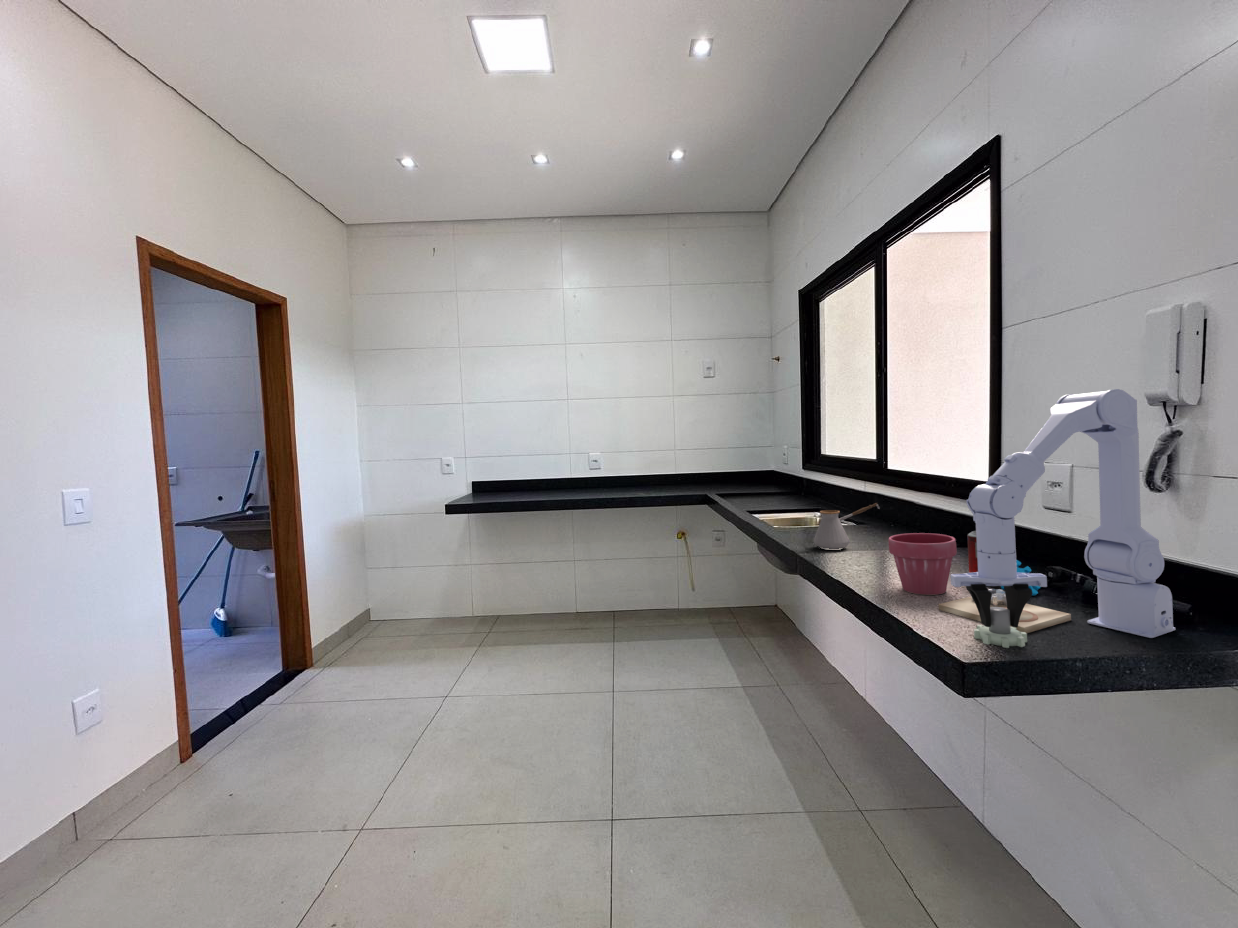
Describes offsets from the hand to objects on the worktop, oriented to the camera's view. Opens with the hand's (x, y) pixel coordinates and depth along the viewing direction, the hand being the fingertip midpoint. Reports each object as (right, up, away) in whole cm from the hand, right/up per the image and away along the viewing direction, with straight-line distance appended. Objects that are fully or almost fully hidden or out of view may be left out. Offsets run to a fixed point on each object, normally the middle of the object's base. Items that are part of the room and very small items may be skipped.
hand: (999, 625), depth 95 cm
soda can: (+23, 0, +36) cm, 42 cm away
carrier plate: (+9, -2, +12) cm, 15 cm away
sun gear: (+11, 0, +17) cm, 20 cm away
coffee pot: (+8, 0, +83) cm, 83 cm away
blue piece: (+23, -1, +25) cm, 34 cm away
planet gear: (0, -3, 0) cm, 3 cm away
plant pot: (+5, -2, +32) cm, 32 cm away
